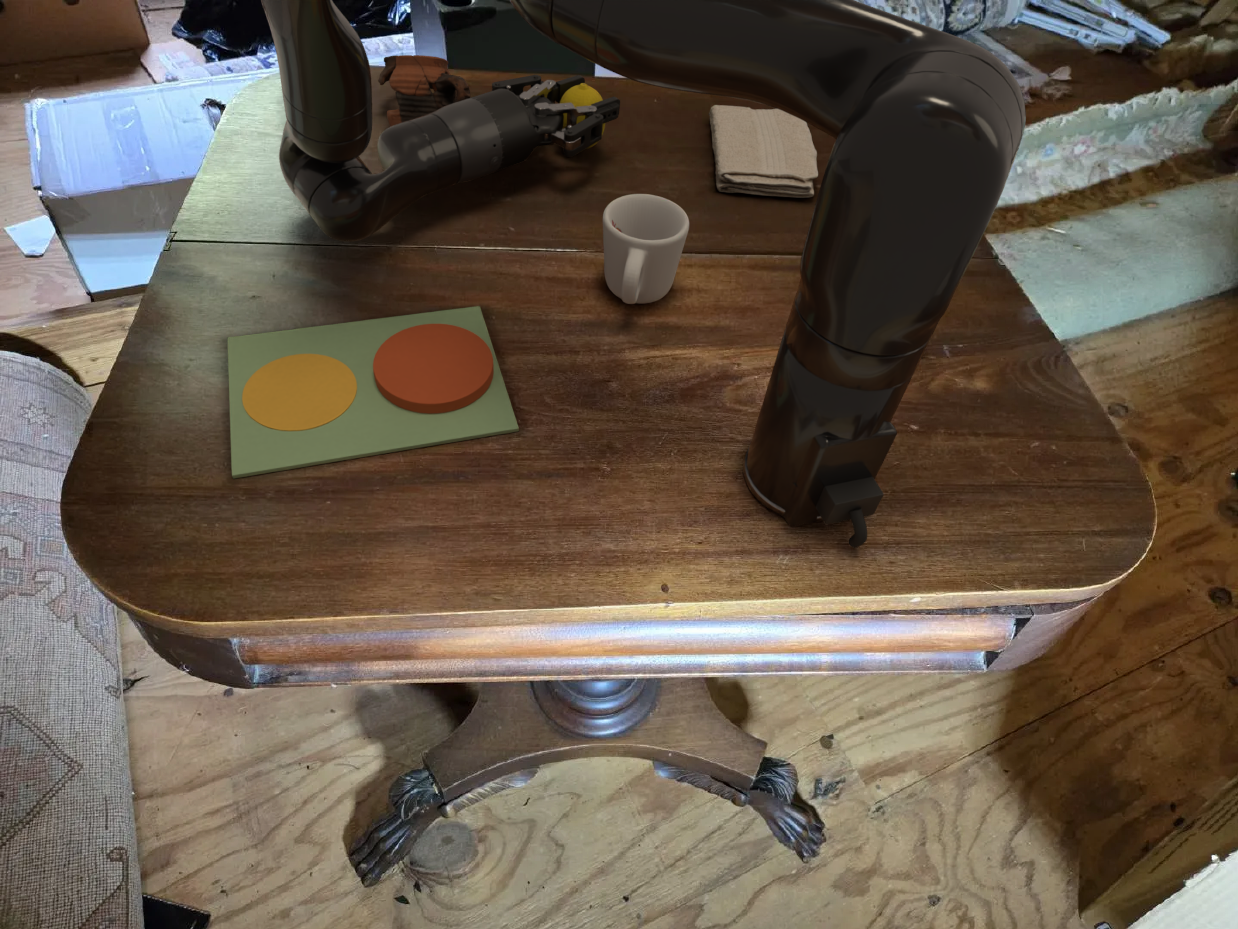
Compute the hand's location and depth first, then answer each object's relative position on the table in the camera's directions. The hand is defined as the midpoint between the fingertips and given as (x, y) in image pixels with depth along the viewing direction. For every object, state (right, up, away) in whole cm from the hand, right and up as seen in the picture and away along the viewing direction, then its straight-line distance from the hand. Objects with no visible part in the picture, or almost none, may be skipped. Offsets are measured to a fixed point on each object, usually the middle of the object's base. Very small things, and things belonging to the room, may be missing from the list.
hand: (599, 95), depth 96 cm
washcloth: (+19, -5, +6) cm, 21 cm away
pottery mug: (-21, -1, +5) cm, 21 cm away
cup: (+4, -25, -13) cm, 29 cm away
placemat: (-19, -35, -25) cm, 47 cm away
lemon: (-2, -5, +3) cm, 7 cm away
